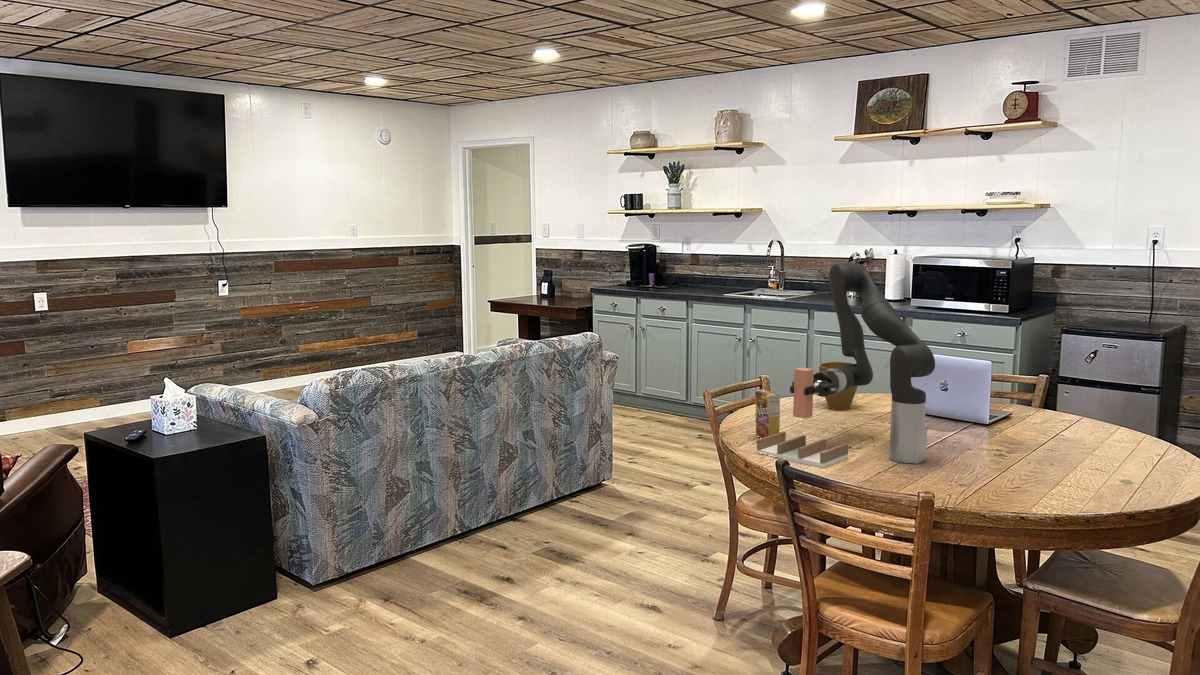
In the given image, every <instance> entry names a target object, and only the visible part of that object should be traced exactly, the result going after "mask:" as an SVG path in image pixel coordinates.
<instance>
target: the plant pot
mask: <svg viewBox="0 0 1200 675" xmlns="http://www.w3.org/2000/svg"><path fill="white" fill-rule="evenodd" d="M850 364H856V363H854V362H846V361H826V362H822V363H821V362H820V363H819V364H818V368H819V372H821V371H825V370H829V369H836V368H839V367H840V366H844V365H850ZM857 389H858V386H852V387H850V388H848V389H846V390H842V391H840V392H838V393H835V394H832V395H829V396H825V397H824V398H825V401H826V405H827V407H828V409H831V410H833V411H834V410H835V411H847V410H849V409H850V408H851V406H852V403H853V401H854V398H855V395H856V392H857Z"/></svg>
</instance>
